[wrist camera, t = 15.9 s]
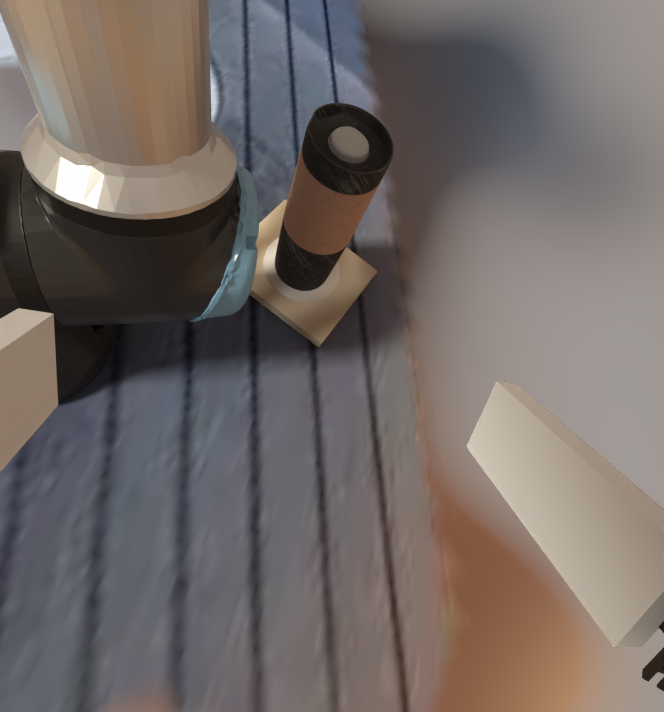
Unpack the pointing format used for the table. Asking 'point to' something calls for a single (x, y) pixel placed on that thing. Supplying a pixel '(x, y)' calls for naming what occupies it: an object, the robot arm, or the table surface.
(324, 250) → the travel mug
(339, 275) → the coaster board
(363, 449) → the table surface
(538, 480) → the robot arm
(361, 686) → the table surface
